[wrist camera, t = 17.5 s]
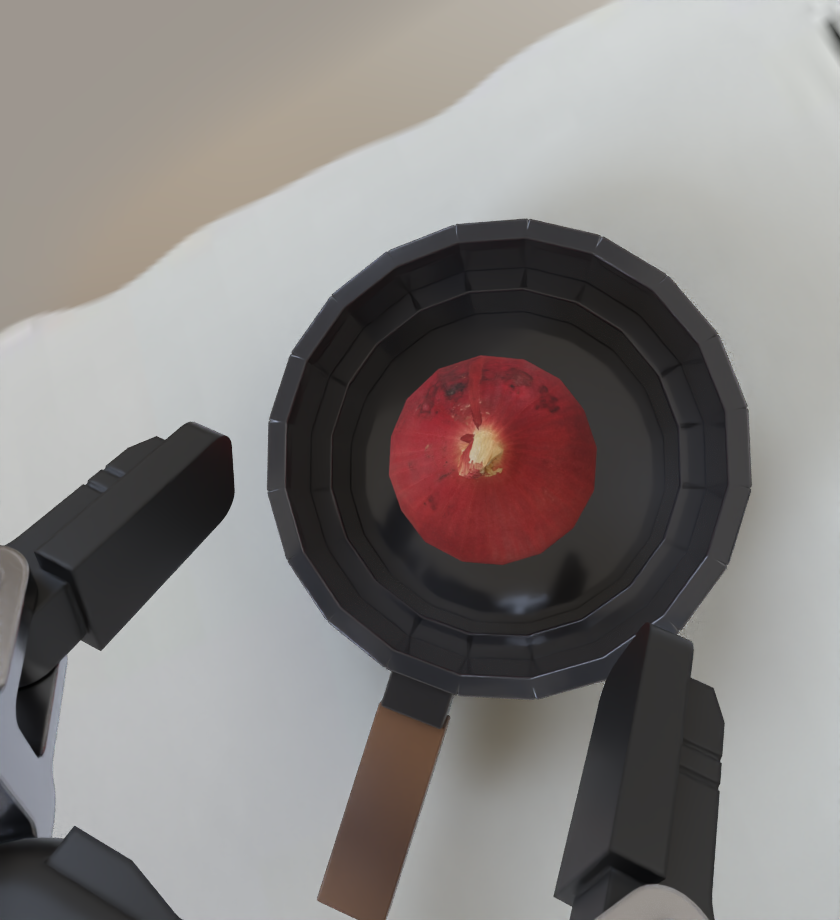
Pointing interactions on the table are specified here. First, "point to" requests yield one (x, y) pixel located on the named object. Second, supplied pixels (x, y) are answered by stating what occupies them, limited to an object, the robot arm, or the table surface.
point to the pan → (612, 425)
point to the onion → (492, 460)
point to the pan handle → (386, 799)
